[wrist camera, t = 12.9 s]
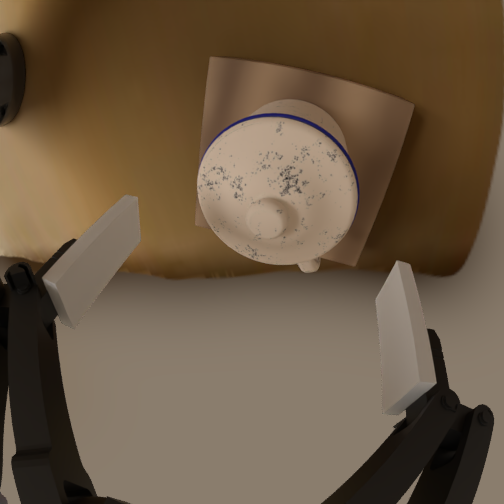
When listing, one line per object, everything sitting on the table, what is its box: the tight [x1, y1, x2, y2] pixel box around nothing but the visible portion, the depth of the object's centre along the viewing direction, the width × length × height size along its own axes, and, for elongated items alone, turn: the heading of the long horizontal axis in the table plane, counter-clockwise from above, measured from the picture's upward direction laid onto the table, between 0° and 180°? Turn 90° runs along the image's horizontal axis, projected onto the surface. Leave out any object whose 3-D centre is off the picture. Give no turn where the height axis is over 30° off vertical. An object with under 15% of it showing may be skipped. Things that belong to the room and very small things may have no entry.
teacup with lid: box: [197, 99, 360, 273], centre depth 19 cm, size 12×9×12 cm
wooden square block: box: [195, 57, 415, 266], centre depth 26 cm, size 16×16×4 cm
